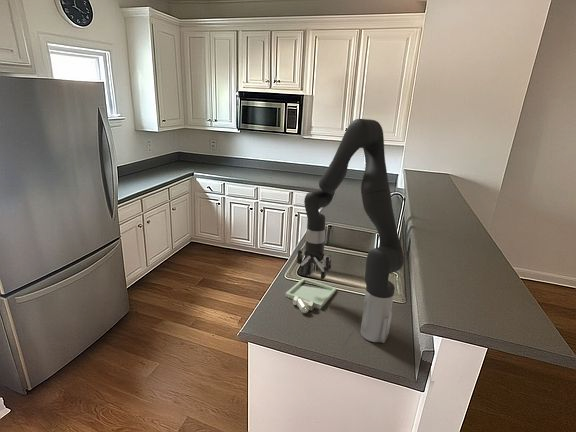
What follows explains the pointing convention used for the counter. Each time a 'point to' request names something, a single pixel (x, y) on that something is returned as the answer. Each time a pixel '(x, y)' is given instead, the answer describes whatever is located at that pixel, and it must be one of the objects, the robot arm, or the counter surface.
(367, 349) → the counter surface
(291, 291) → the tray
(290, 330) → the counter surface
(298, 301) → the pipe fitting
